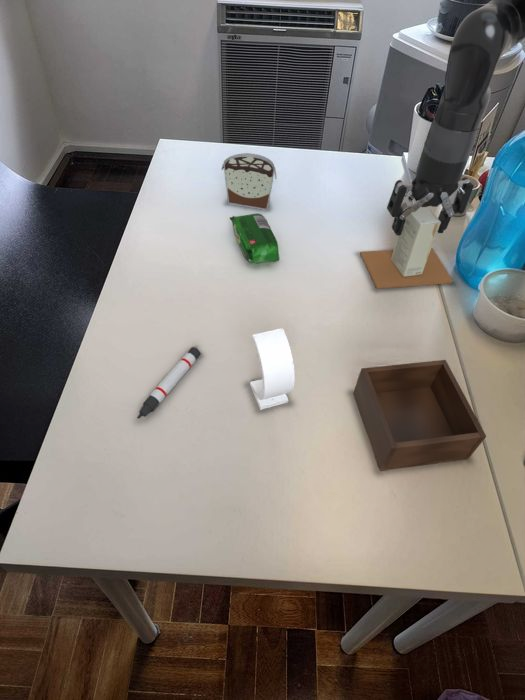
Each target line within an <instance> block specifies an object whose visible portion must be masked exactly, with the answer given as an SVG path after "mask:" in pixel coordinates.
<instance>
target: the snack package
mask: <svg viewBox="0 0 525 700" xmlns="http://www.w3.org/2000/svg"><path fill="white" fill-rule="evenodd" d="M229 220H230V221H231V224H232V228H233V233H234V237H235V239H236V241H237V243H238V245H239V248H240V249H241V252H242V255H243V257H244V258H245V260H246V261H247V262H249V263H250V264H252V265H253V264H255V265H256V264H261V263H262V264H263V263H269V262H273V263H276V262H280V253H279V244H278V241H277V238H276V236H275V234H274V233H273V230H272V228H271V225H270V224H269V221H268V220H267V219H266V217H265V215H263V214H261V213H251V214H245V215H238V216H234V215H232V216H230V217H229Z"/></svg>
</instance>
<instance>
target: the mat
mask: <svg viewBox="0 0 525 700" xmlns="http://www.w3.org/2000/svg"><path fill="white" fill-rule="evenodd" d="M393 251H394V249H387V250H386V249H385V250H370V251H360V252H359V255H360V257H361V260H362V262H363V264H364V266H365V268H366V270H367V272H368V274H369V276H370V278H371V281H372V283H373V285H374V287H375V290H379V289H380V290H381V289H393V288H394V289H395V288H396V289H397V288H407V287H408V288H409V287H421V286H432V285H447V284H448V285H449V284H453V282H454V281H453V279H452V277H451V275H450V274H449V273H448V271H447V269H446V267H445V265H444V264H442V262H441V260H440V258H439V257H438V255H437V254H436V251H435V250H434V249H433V247H432V248H431V251H430V253H429V256H428V259H427V262H426V264H425V267H424V270H423V273H422V274H420V275H413V276H405V277H404V276H403V275H402V274H401V273H400V271H399V270H398V269H397V267H396V266H395V264H394V263H393V261H392V260H391V258H392V254H393Z"/></svg>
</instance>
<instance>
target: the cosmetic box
mask: <svg viewBox="0 0 525 700" xmlns="http://www.w3.org/2000/svg"><path fill="white" fill-rule="evenodd" d="M405 219H406V221H405V224H404V227H403V230H402V233H401V235H400V236H397V237H396V241H395V244H394V248H393V250H394V251H393V254H392V258H391V260H392V261H393V263H394V264H395V266H396V267H397V269H398V270H399V271H400V273H401V274H402V275H403V276H404V277H405V276H413V275H420V274H422V273H423V270H424V267H425V264H426V262H427V259H428V256H429V253H430V251H431V248H432V249H433V245H434V242H435V239H436V237H437V234H438V232H437V231H438V229H439V226H440V223H441V222H440V221H439V219H438V217H437V216H436V214H435V213H434V212H433V211H432V210H431V209H430V208H429V206H428V207H420V208H419V209H418V210H417V211H416V212H412V213H411V214H409V215H408V216H407V217H406V218H405Z"/></svg>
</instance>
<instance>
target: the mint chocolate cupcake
mask: <svg viewBox="0 0 525 700" xmlns="http://www.w3.org/2000/svg"><path fill="white" fill-rule="evenodd" d="M221 171H223V172H224V180H225V188H226V196H227V203H228V205H234V206H241V207H246V208H251V209H259V210H263V211H268V209H269V205H270V204H269V203H270V198H271V193H272V187H273V183H274V180H277V169H276V166H275V163H274V161H272V160H271V159H270V158H268V157H266V156H264V155H261V154H258V153H257V154H256V153H251V152H250V153H249V152H244V153H243V152H242V153H237V154H232V155H230V156H229V157H227V158H225V159H224V160H223V163H222V165H221Z"/></svg>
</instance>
